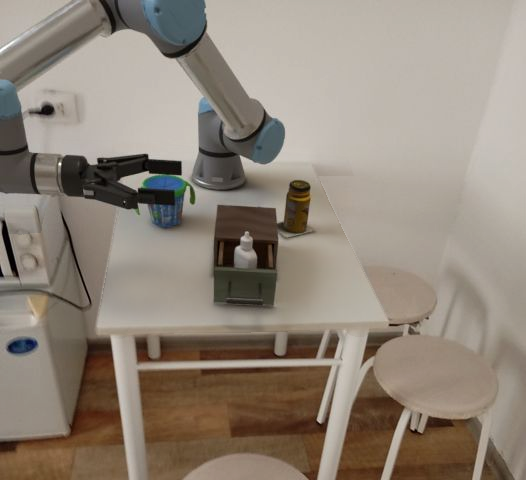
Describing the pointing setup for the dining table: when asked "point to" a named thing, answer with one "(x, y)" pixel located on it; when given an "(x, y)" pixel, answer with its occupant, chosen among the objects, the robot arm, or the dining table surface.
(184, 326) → the dining table surface
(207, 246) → the dining table surface
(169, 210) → the snack cup
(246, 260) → the eye dropper bottle
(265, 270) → the drawer
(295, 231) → the condiment
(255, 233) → the cabinet
